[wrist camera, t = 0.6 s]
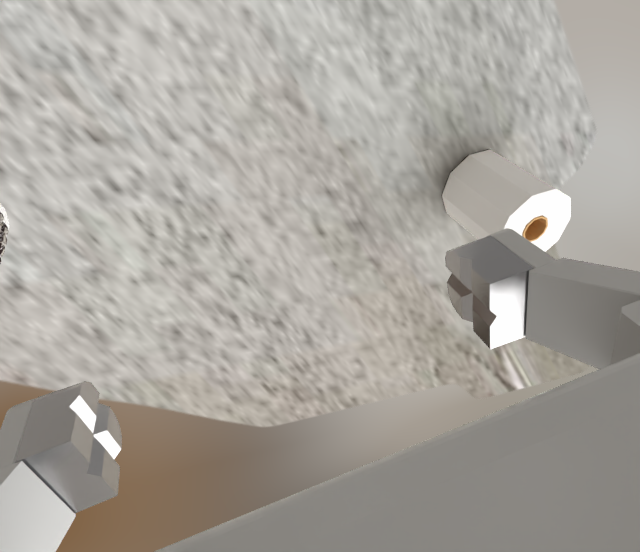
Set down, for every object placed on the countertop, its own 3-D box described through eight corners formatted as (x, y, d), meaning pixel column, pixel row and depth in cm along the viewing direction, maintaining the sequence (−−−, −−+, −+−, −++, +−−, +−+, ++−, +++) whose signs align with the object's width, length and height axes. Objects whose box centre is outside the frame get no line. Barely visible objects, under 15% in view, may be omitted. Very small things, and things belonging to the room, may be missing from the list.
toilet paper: (515, 184, 67) (580, 226, 58) (457, 231, 69) (512, 279, 60) (493, 133, 61) (563, 171, 52) (430, 186, 62) (487, 233, 53)
